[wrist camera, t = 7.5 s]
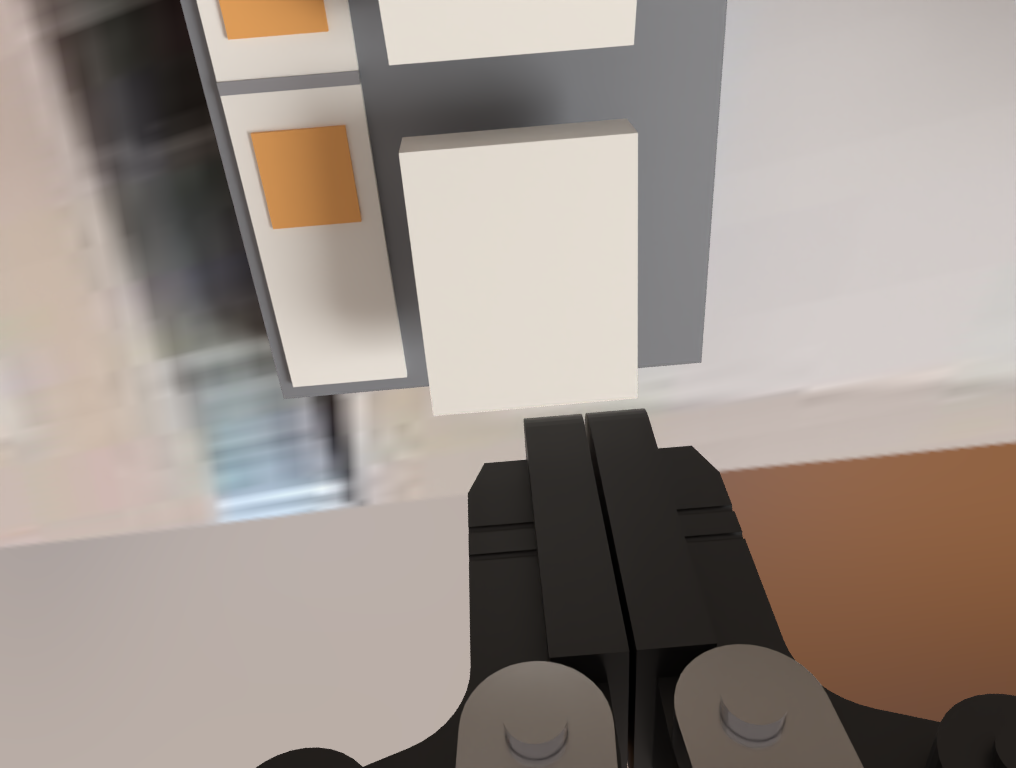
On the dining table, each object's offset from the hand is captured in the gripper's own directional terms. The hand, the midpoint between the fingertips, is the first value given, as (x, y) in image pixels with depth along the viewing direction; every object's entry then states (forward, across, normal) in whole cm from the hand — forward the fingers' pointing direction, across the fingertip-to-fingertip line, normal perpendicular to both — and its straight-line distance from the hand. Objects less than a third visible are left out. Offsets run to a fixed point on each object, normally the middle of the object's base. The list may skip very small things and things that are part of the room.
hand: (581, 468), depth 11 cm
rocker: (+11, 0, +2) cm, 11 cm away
